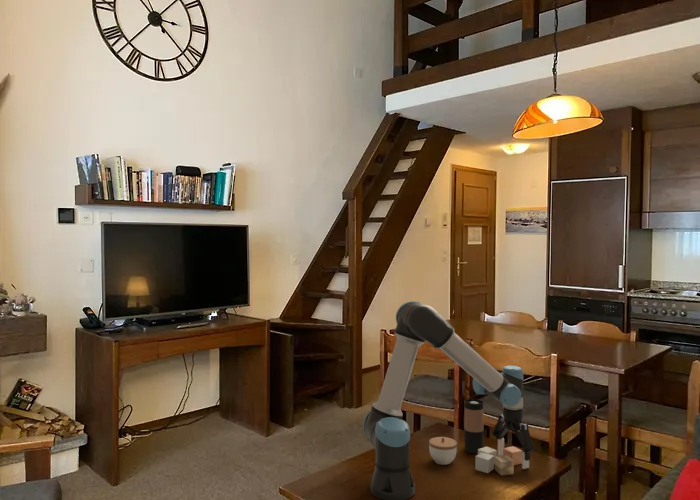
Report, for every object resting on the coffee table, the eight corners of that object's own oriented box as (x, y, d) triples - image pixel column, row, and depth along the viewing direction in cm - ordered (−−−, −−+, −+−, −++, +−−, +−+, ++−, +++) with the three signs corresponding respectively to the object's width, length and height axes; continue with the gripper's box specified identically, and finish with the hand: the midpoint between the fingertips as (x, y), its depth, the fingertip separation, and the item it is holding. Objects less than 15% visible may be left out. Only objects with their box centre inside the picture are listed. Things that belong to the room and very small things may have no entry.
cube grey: (487, 473, 202) (487, 459, 202) (475, 469, 205) (475, 456, 205) (493, 469, 205) (493, 455, 205) (481, 465, 209) (481, 452, 209)
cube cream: (488, 466, 208) (488, 453, 208) (477, 461, 212) (477, 449, 212) (496, 463, 211) (496, 450, 211) (486, 458, 215) (486, 446, 215)
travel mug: (460, 448, 225) (460, 400, 225) (475, 445, 229) (475, 397, 228) (471, 455, 218) (472, 405, 218) (487, 451, 222) (487, 402, 221)
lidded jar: (455, 456, 217) (455, 433, 217) (458, 467, 206) (458, 443, 206) (428, 455, 218) (428, 432, 218) (429, 466, 207) (429, 442, 207)
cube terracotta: (512, 465, 208) (512, 452, 208) (503, 461, 213) (503, 448, 213) (522, 463, 210) (522, 450, 210) (512, 458, 215) (513, 446, 215)
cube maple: (500, 475, 200) (501, 461, 200) (494, 469, 205) (494, 456, 205) (513, 474, 201) (513, 460, 201) (507, 468, 206) (507, 455, 206)
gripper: (544, 414, 202) (544, 471, 202) (498, 397, 224) (498, 448, 225) (529, 417, 198) (529, 475, 199) (484, 399, 221) (484, 451, 221)
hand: (512, 461), depth 212 cm, fingers open, 13 cm apart
